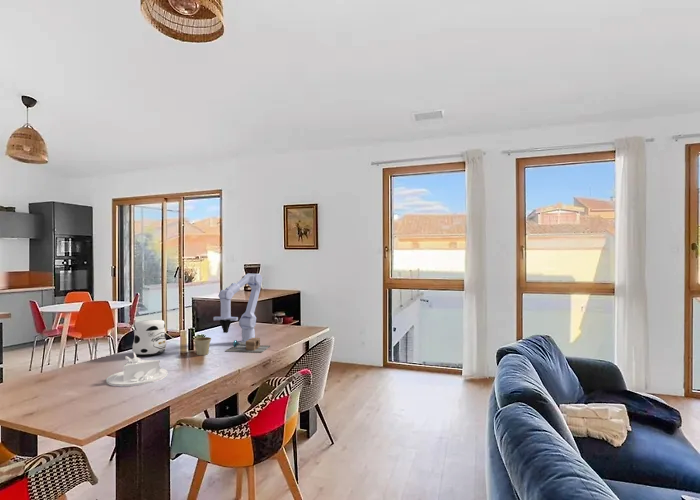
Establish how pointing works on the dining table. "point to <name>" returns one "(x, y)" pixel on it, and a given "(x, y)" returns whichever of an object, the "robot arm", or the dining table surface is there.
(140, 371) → the dish
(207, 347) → the flower pot
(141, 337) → the milk container
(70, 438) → the dining table surface
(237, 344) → the pin
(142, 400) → the dining table surface
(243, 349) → the hitch block
